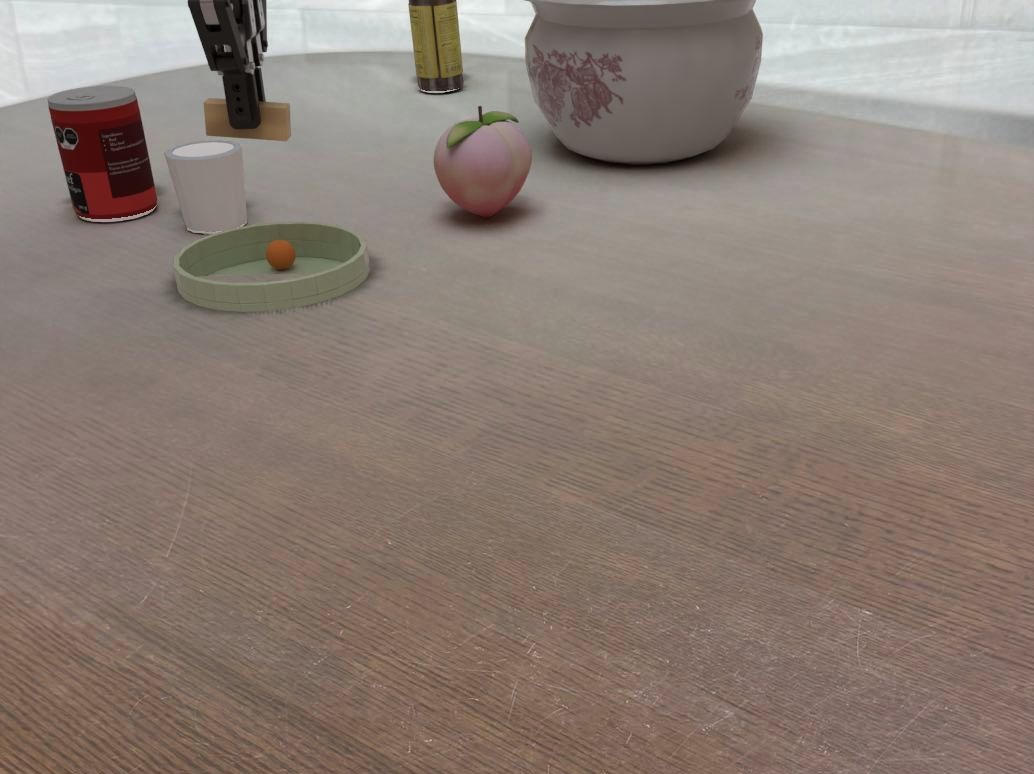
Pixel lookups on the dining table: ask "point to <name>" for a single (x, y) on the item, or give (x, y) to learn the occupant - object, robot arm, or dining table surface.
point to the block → (271, 128)
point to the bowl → (244, 253)
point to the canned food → (103, 151)
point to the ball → (280, 254)
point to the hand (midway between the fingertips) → (249, 123)
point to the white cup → (209, 184)
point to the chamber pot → (642, 74)
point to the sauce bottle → (436, 44)
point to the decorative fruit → (483, 162)
